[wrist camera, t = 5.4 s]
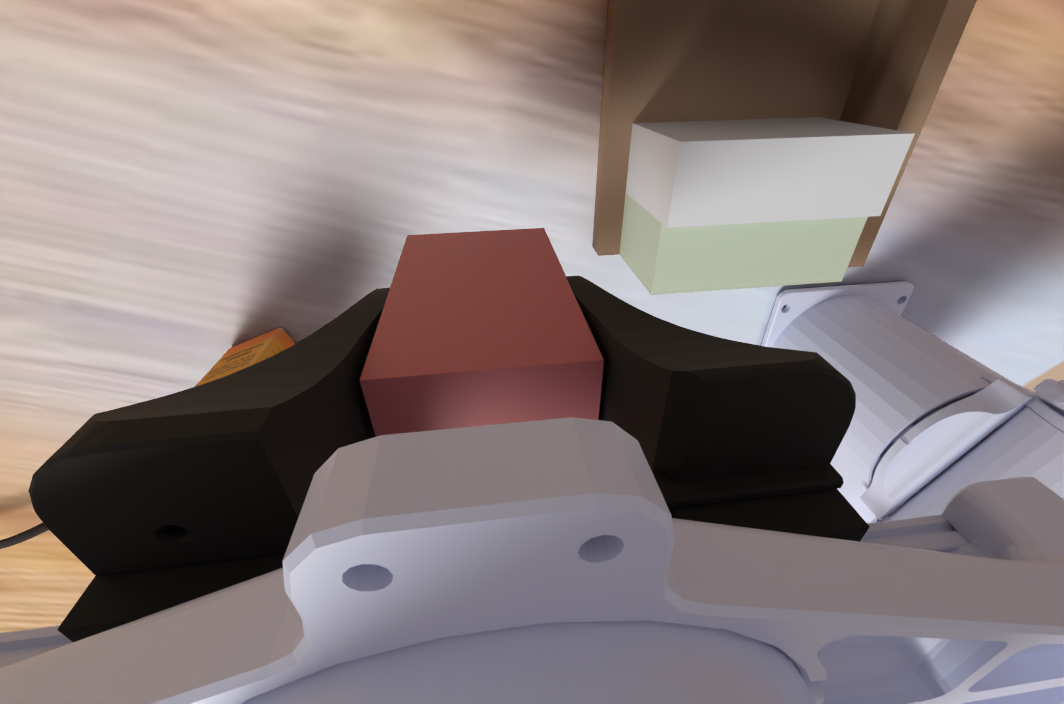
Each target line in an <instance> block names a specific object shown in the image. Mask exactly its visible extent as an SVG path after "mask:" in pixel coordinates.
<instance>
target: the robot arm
mask: <svg viewBox="0 0 1064 704" xmlns="http://www.w3.org/2000/svg"><path fill="white" fill-rule="evenodd" d="M566 278H567V280H568V282H569V285H570V287H571V289H572V291H573V293H574V295H575V298H576V300H577V302H578V304H579V306H580V309H581V311H582V313H583V315H584V317H585V320H586V322H587V324H588V326H589V328H590V331H591V333H592V335H593V337H594V339H595V342H596V344H597V346H598V348H599V350H600V353H601V355H602V357H603V359H604V364H603V375H602V385H601V396H600V407H599V418H598V420H592V419H583V418H574V417H569V418H558V419H548V420H537V421H526V422H516V423H505V424H495V425H484V426H474V427H463V428H453V429H442V430H432V431H421V432H411V433H400V434H389V435H381V436H377V437H376V436H375V433H374V429H373V426H372V422H371V419H370V415H369V412H368V408H367V405H366V401H365V398H364V394H363V391H362V387H361V384H360V377H361V374H362V371H363V368H364V365H365V362H366V359H367V356H368V353H369V350H370V347H371V344H372V341H373V338H374V335H375V332H376V329H377V326H378V323H379V320H380V317H381V314H382V311H383V308H384V305H385V302H386V299H387V296H388V293H389V290H390V288H382V289H376V290H374V291H372V292H371V293H369V294H368V295H366V296H365V297H364V298H362V299H361V300H360V301H358V302H357V303H356V304H354V305H353V306H352V307H350V308H349V309H348V310H346V311H345V312H344V313H342V314H341V315H339V316H338V317H337V318H335V319H334V320H332V321H331V322H329V323H328V324H326V325H325V326H323V327H322V328H320V329H319V330H317V331H316V332H314V333H313V334H311V335H310V336H308V337H307V338H305V339H303V340H302V341H300V342H298V343H296V344H295V345H293V346H291V347H289V348H287V349H285V350H283V351H281V352H279V353H278V354H276V355H274V356H272V357H269V358H267V359H265V360H263V361H260V362H258V363H256V364H253V365H251V366H249V367H246V368H244V369H242V370H239V371H237V372H235V373H232V374H230V375H227V376H225V377H222V378H219V379H216V380H214V381H211V382H208V383H205V384H202V385H199V386H196V387H193V388H190V389H187V390H184V391H181V392H177V393H174V394H171V395H167V396H164V397H160V398H157V399H153V400H149V401H145V402H141V403H137V404H134V405H130V406H126V407H122V408H118V409H114V410H110V411H106V412H102V413H97V414H95V415H93V416H92V417H91V418H90V419H89V420H88V421H87V422H86V423H85V424H84V425H83V426H82V427H81V428H80V429H79V430H78V431H77V432H76V433H75V434H74V435H73V436H72V437H71V438H70V439H69V440H68V441H67V442H66V443H65V444H64V445H63V446H62V447H61V448H60V449H58V450H57V451H56V452H55V453H54V454H53V455H52V456H51V457H50V458H49V459H48V460H47V461H46V462H45V463H44V464H43V465H42V466H41V467H40V468H39V469H38V470H37V471H36V472H35V473H34V474H33V477H32V481H31V485H30V488H29V493H30V497H31V501H32V505H33V508H34V510H35V512H36V514H37V515H38V516H39V518H40V519H41V520H42V521H43V523H44V524H45V525H46V527H47V528H48V529H49V530H50V531H51V532H52V533H53V534H54V535H55V536H56V537H57V538H58V539H59V540H60V541H61V542H62V543H63V544H64V545H65V546H66V547H67V548H68V549H69V550H70V551H71V552H72V553H73V554H74V555H75V556H76V557H77V558H78V559H79V560H80V561H81V562H82V563H84V564H85V565H86V566H87V567H88V568H89V569H90V570H91V571H92V572H93V573H94V574H95V575H96V576H95V577H94V579H93V580H92V582H91V583H90V584H89V586H88V587H87V589H86V590H85V591H84V593H83V594H82V596H81V597H80V598H79V600H78V601H77V603H76V604H75V605H74V607H73V608H72V610H71V611H70V612H69V614H68V615H67V617H66V618H65V619H64V621H63V622H62V624H61V625H59V626H51V627H43V628H35V629H27V630H19V631H11V632H3V633H0V704H1064V380H1060V381H1059V382H1058V381H1056V380H1052V379H1046V380H1044V381H1042V382H1041V383H1040V384H1039V385H1037V386H1036V387H1035V388H1034V390H1035V391H1036V392H1033V391H1031V390H1029V389H1026V388H1024V387H1022V386H1020V385H1017V384H1015V383H1013V382H1012V381H1010V380H1008V379H1006V378H1005V377H1003V376H1001V375H1000V374H998V373H996V372H995V371H993V370H991V369H990V368H988V367H986V366H985V365H983V364H981V363H980V362H978V361H976V360H974V359H973V358H971V357H969V356H968V355H966V354H964V353H963V352H961V351H959V350H958V349H956V348H954V347H953V346H951V345H949V344H948V343H946V342H944V341H942V340H941V339H939V338H937V337H936V336H934V335H932V334H931V333H929V332H927V331H926V330H924V329H922V328H921V327H919V326H917V325H916V324H914V323H912V322H910V321H909V320H907V319H905V318H904V317H902V316H901V315H902V313H903V311H904V309H905V307H906V305H907V303H908V301H909V299H910V297H911V295H912V293H913V291H914V285H913V284H911V283H909V282H906V281H902V282H888V283H874V284H859V285H845V286H831V287H817V288H803V289H789V290H784V291H782V292H781V293H780V294H779V295H778V296H777V298H776V301H775V304H774V308H773V311H772V314H771V317H770V320H769V323H768V326H767V329H766V332H765V335H764V338H763V341H762V345H761V346H759V345H753V344H748V343H742V342H737V341H732V340H727V339H723V338H718V337H714V336H710V335H707V334H703V333H700V332H696V331H692V330H689V329H686V328H683V327H680V326H677V325H675V324H672V323H669V322H667V321H664V320H661V319H659V318H656V317H654V316H652V315H650V314H647V313H645V312H643V311H641V310H639V309H637V308H635V307H633V306H631V305H629V304H628V303H626V302H624V301H622V300H620V299H619V298H617V297H615V296H613V295H612V294H610V293H608V292H607V291H605V290H603V289H602V288H600V287H598V286H597V285H595V284H593V283H592V282H590V281H588V280H587V279H585V278H583V277H581V276H568V277H566ZM785 305H786V306H785ZM783 306H785V308H783V309H782V307H783ZM866 522H869V524H867V523H866Z"/></svg>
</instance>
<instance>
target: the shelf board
mask: <svg viewBox="0 0 1064 704" xmlns="http://www.w3.org/2000/svg"><path fill="white" fill-rule="evenodd" d="M976 1H977V0H608V12H607V28H606V44H605V59H604V75H603V91H602V106H601V122H600V138H599V153H598V169H597V184H596V200H595V216H594V231H593V248H594V249H595V251H596V252H597V254H598V255H616V254H620V244H621V234H622V224H623V214H624V204H625V194H626V184H627V174H628V164H629V154H630V144H631V134H632V124H633V123H652V122H683V121H714V120H746V119H777V118H809V117H821V118H827V119H832V120H838V121H844V122H850V123H856V124H862V125H868V126H874V127H880V128H886V129H892V130H898V131H904V132H910V133H915V135H914V137H913V139H912V142H911V144H910V147H909V149H908V151H907V154H906V156H905V158H904V161H903V163H902V166H901V168H900V170H899V173H898V175H897V177H896V180H895V182H894V185H893V187H892V189H891V192H890V194H889V196H888V199H887V201H886V204H885V206H884V208H883V211H882V213H881V215H880V216H871V217H868V218H867V220H866V223H865V225H864V228H863V230H862V233H861V235H860V238H859V240H858V243H857V245H856V247H855V250H854V252H853V255H852V257H851V260H850V262H849V265H848V267H856V266H864V263H865V261H866V259H867V256H868V254H869V252H870V249H871V247H872V245H873V242H874V240H875V238H876V235H877V233H878V231H879V228H880V226H881V224H882V221H883V219H884V216H885V214H886V212H887V209H888V207H889V205H890V202H891V200H892V198H893V195H894V193H895V191H896V188H897V186H898V184H899V181H900V179H901V177H902V174H903V172H904V170H905V167H906V165H907V162H908V160H909V158H910V155H911V153H912V151H913V148H914V146H915V144H916V141H917V139H918V137H919V134H920V132H921V130H922V127H923V125H924V123H925V120H926V118H927V116H928V113H929V111H930V108H931V106H932V104H933V101H934V99H935V97H936V94H937V92H938V90H939V87H940V85H941V83H942V80H943V78H944V76H945V73H946V71H947V69H948V66H949V64H950V62H951V59H952V57H953V55H954V52H955V50H956V47H957V45H958V43H959V40H960V38H961V36H962V33H963V31H964V29H965V26H966V24H967V22H968V19H969V17H970V15H971V12H972V10H973V8H974V5H975V3H976Z"/></svg>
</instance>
